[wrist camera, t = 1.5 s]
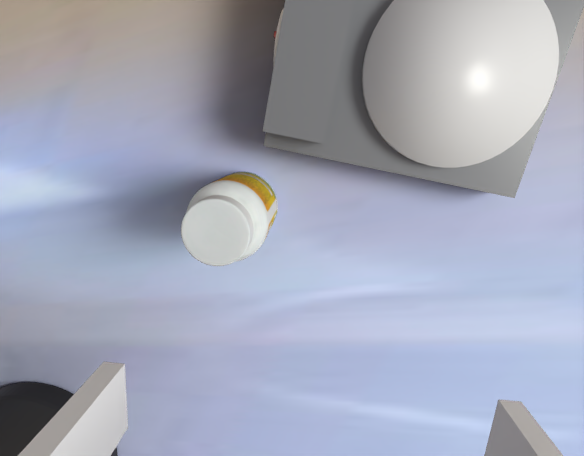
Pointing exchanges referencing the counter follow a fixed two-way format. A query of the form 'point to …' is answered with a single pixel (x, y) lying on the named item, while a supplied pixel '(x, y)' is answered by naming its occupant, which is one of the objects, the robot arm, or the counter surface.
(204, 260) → the supplement bottle
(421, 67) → the scale
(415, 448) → the counter surface
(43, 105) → the counter surface
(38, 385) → the robot arm
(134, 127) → the counter surface
